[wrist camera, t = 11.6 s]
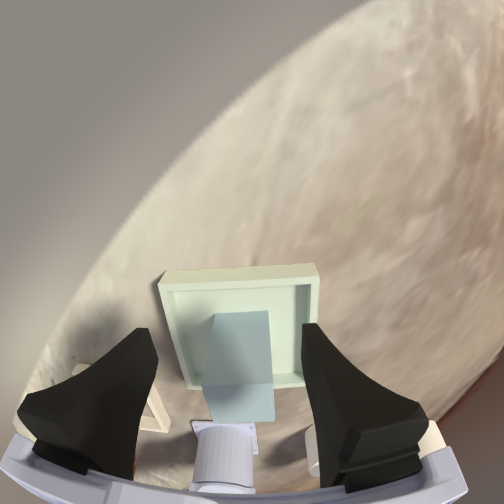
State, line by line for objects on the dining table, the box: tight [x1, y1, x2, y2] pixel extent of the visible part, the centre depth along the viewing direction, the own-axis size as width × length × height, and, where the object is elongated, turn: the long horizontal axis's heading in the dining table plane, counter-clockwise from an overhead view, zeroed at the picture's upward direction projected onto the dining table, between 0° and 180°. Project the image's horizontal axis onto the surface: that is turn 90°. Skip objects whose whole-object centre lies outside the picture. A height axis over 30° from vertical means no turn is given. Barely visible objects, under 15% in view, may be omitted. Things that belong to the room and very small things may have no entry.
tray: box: [158, 263, 320, 390], centre depth 24 cm, size 12×12×2 cm
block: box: [201, 310, 275, 423], centre depth 20 cm, size 4×4×8 cm
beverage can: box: [418, 420, 446, 459], centre depth 29 cm, size 8×8×12 cm
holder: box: [71, 363, 171, 433], centre depth 29 cm, size 10×10×2 cm
